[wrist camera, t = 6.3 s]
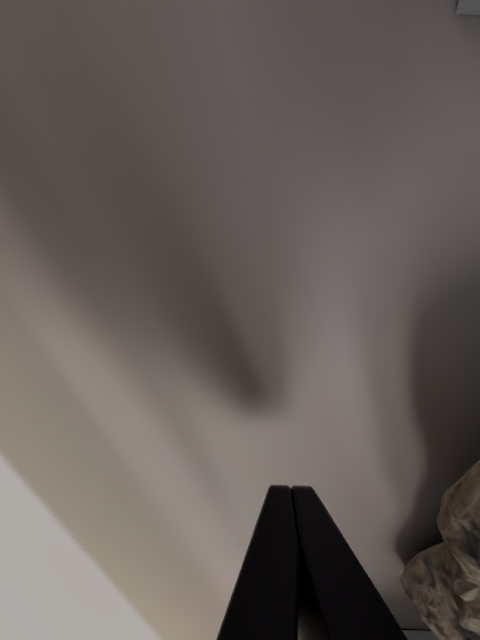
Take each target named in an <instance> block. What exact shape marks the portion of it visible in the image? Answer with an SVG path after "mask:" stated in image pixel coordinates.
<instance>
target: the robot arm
mask: <svg viewBox="0 0 480 640" xmlns="http://www.w3.org/2000/svg"><path fill="white" fill-rule="evenodd" d="M217 640H408V639H407V637H406V636H405V634H404V633H403V631H402V629H401V628H400V626H399V625H398V623H397V621H396V620H395V618H394V617H393V615H392V613H391V612H390V610H389V609H388V607H387V605H386V604H385V602H384V601H383V599H382V597H381V596H380V594H379V593H378V591H377V589H376V588H375V586H374V585H373V583H372V581H371V580H370V578H369V577H368V575H367V573H366V572H365V570H364V569H363V567H362V565H361V564H360V562H359V561H358V559H357V557H356V556H355V554H354V553H353V551H352V549H351V548H350V546H349V545H348V543H347V541H346V540H345V538H344V537H343V535H342V533H341V532H340V530H339V529H338V527H337V525H336V524H335V522H334V521H333V519H332V517H331V516H330V514H329V513H328V511H327V509H326V508H325V506H324V505H323V503H322V501H321V500H320V498H319V497H318V495H317V493H316V492H315V490H314V489H313V488H312V487H310V486H292V487H291V488H290V487H289V486H287V485H271V486H270V487H269V489H268V491H267V494H266V497H265V500H264V503H263V506H262V509H261V512H260V515H259V518H258V520H257V523H256V526H255V529H254V532H253V535H252V538H251V541H250V544H249V547H248V549H247V552H246V555H245V558H244V561H243V564H242V567H241V570H240V573H239V576H238V579H237V581H236V584H235V587H234V590H233V593H232V596H231V599H230V602H229V605H228V608H227V611H226V613H225V616H224V619H223V622H222V625H221V628H220V631H219V634H218V637H217Z"/></svg>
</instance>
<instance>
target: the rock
mask: <svg viewBox="0 0 480 640" xmlns="http://www.w3.org/2000/svg"><path fill="white" fill-rule="evenodd" d="M436 520H437V524H438V528H439V530H440V533H441V535H442V537H443V539H444V541H443V542H442V543H440V544H436V545H433V546H432V547H428V548H427V549H425V550H423V551H421V552H419V553H418V554H417V555H415V556H414V557H413V558H412V559H411V560H410V561H409V562H408V563H407V564H406V565H405V569H404V572H403V574H402V575H401V577H400V581H401V583H402V585H403V587H404V590H405V592H406V594H407V595H408V597H409V598H410V599H411V601H412V602H413V603H414V605H415V607H416V610H417V612H418V614H419V616H420V619H421V620H422V621H423V622H424V623H425V624H426V625H427V626H428V627H429V628H430V629H431V630H432V631H433V633H434V634H435V635H436V636H437V637H438V639H439V640H480V460H479V461H478V462H476V463H475V464H474V465H473V466H472V467H471V468H470V469H469V470H468V471H467V472H466V473H465V474H464V475H463V476H462V477H461V478H460V479H459V480H458V481H457V482H456V483H455V484H453V485H452V486H451V487H450V488H448V489H447V490H446V491H444V494H443V497H442V501H441V507H440V511H439V514H438V516H437V519H436Z"/></svg>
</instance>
